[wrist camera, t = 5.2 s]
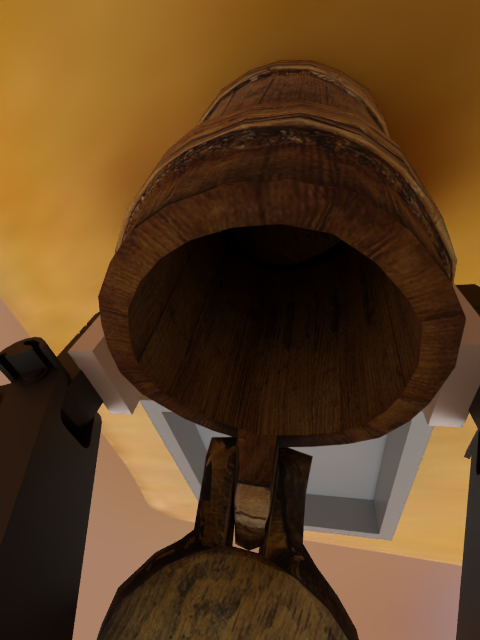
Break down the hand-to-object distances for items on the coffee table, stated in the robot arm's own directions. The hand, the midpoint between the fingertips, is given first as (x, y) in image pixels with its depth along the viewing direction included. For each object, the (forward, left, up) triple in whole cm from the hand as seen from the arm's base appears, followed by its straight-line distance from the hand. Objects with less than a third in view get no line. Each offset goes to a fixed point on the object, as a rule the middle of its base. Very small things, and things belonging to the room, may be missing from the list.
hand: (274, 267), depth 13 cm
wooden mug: (0, 0, -4) cm, 4 cm away
